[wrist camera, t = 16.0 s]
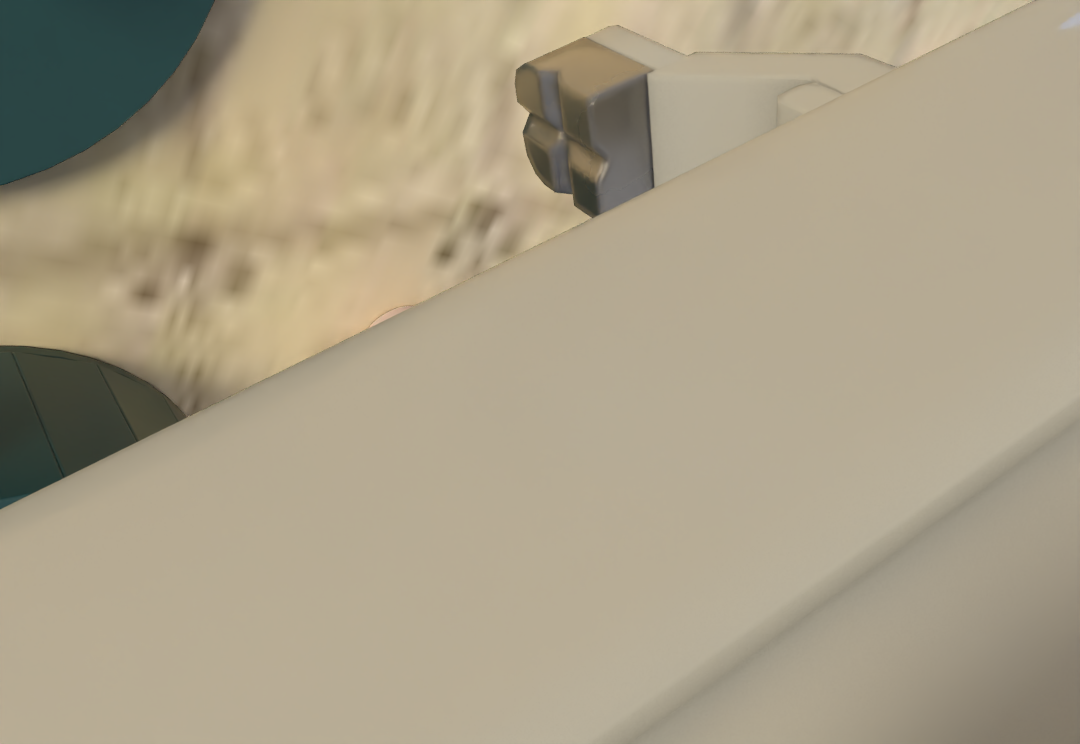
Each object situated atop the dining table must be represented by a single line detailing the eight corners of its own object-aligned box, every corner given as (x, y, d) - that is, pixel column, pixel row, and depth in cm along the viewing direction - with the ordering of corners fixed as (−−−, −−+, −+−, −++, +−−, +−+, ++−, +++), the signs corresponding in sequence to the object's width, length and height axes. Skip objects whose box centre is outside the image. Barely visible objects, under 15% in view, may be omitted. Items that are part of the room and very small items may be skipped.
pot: (111, 194, 29) (194, 312, 24) (273, 629, 42) (348, 763, 37) (-569, 409, 23) (-647, 629, 18) (-128, 840, 36) (-102, 1035, 31)
